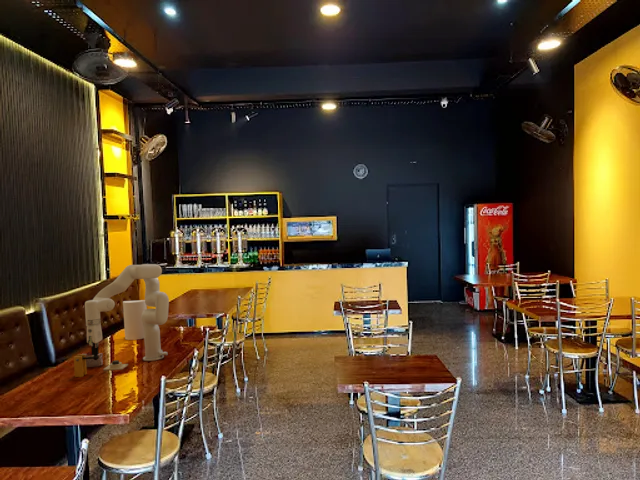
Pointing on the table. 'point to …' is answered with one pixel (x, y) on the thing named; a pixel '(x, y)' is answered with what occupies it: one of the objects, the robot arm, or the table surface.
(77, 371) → the lever bracket
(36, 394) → the table surface
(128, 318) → the cylinder
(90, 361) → the food item
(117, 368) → the control block
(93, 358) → the press lever
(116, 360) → the stop button
